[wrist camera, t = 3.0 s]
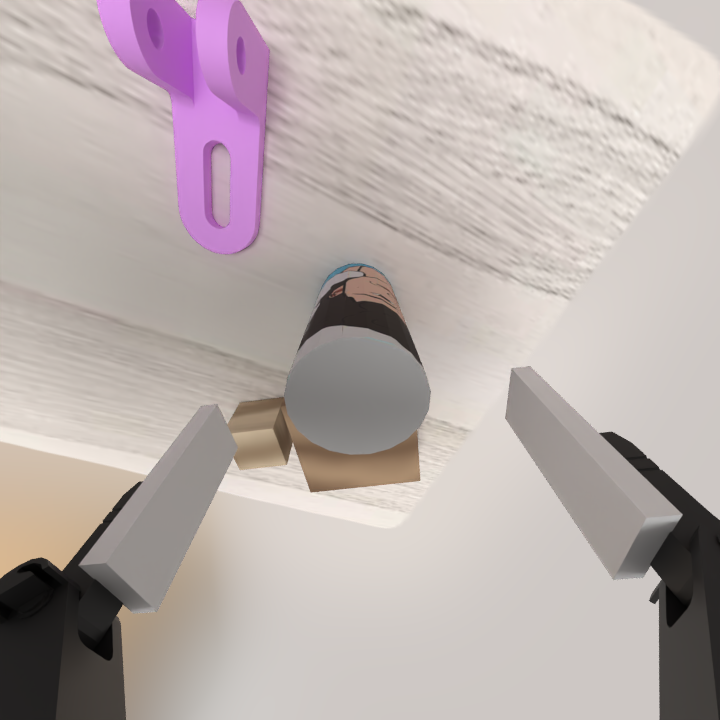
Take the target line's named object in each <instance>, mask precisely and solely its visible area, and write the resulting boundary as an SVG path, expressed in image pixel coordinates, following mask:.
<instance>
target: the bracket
mask: <svg viewBox="0 0 720 720" xmlns="http://www.w3.org/2000/svg"><path fill="white" fill-rule="evenodd" d="M97 5H98V10H99V14H100V18H101V21H102V24H103V27H104V30H105V32H106V35H107V37H108V40H109V42H110V44H111V46H112V48H113V49H114V51H115V53H116V54H117V56H118V57H119V59H120V60H121V61H122V63H123V64H124V65H125V66H126V67H127V68H128V69H130V70H131V71H133V72H135V73H137V74H138V75H140V76H142V77H144V78H146V79H147V80H149V81H151V82H153V83H154V84H156V85H158V86H160V87H162V88H163V89H165V90H167V91H168V93H169V94H170V97H171V101H172V112H173V127H174V143H175V158H176V173H177V189H178V204H179V212H180V216H181V219H182V222H183V224H184V226H185V228H186V230H187V231H188V233H189V234H190V235H191V236H192V238H193V239H194V240H195V241H196V242H197V243H199V244H200V245H201V246H203V247H204V248H206V249H208V250H210V251H212V252H215V253H219V254H232V253H236V252H238V251H240V250H243V249H245V248H246V247H248V246H249V245H250V244H251V243H252V242H253V241H254V240H255V238H256V236H257V234H258V231H259V225H260V210H261V192H262V175H263V157H264V140H265V122H266V104H267V87H268V69H269V52H270V50H269V48H268V47H267V45H266V43H265V42H264V40H263V38H262V37H261V35H260V33H259V32H258V30H257V28H256V27H255V25H254V23H253V21H252V20H251V18H250V16H249V15H248V13H247V11H246V10H245V8H244V6H243V5H242V3H241V2H240V1H238V0H198V3H197V9H196V19H194V18H191V17H190V16H189V15H188V14H187V13H186V12H185V11H184V9H183V8H182V7H181V6H180V5H179V4H178V3H177V2H176V1H175V0H97ZM219 143H222V144H223V145H225V147H226V148H227V149H228V151H229V154H230V158H231V175H230V222H229V224H228V226H227V227H222V226H220V225H219V224H218V223H216V221H215V220H214V218H213V216H212V193H211V151H212V148H213V147H214V146H215V145H216V144H219Z"/></svg>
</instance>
